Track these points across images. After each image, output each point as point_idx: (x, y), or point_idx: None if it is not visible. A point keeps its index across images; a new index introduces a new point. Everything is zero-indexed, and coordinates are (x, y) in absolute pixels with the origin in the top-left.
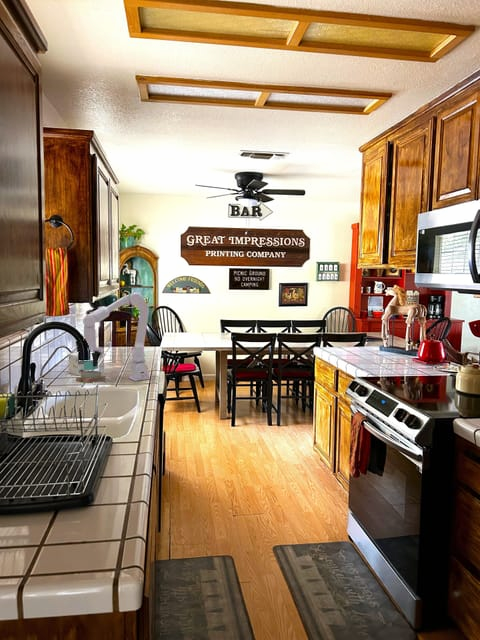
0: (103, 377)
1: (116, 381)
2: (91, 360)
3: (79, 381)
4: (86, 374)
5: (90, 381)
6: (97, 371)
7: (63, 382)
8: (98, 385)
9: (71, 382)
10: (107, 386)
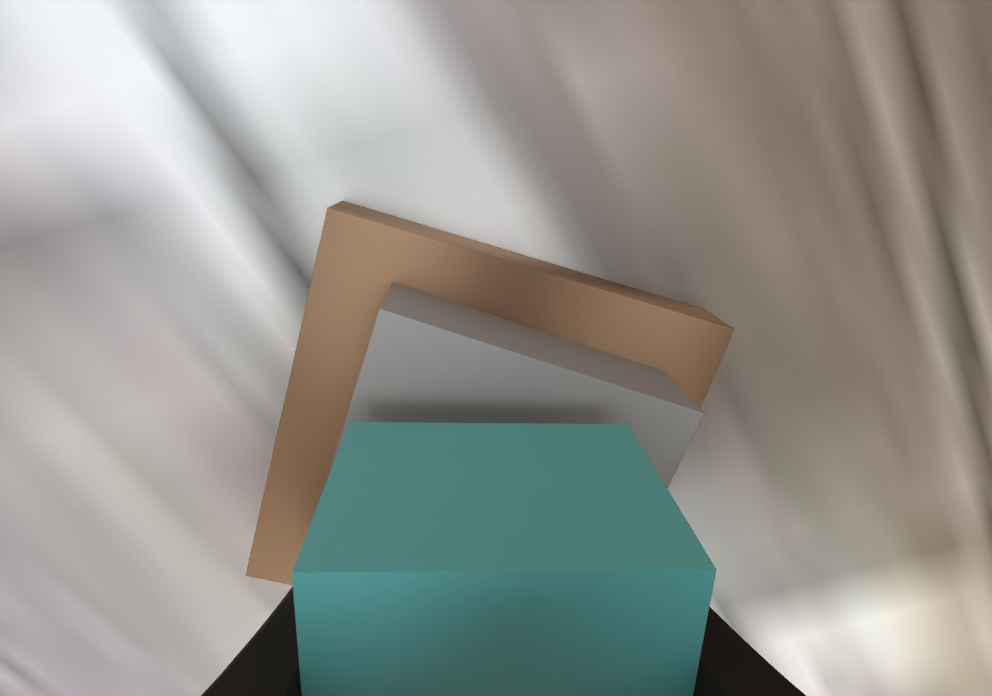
0: (708, 372)
1: (938, 363)
2: (444, 622)
3: None
4: None
5: None
6: (604, 419)
7: (137, 646)
8: (759, 653)
9: (257, 614)
10: (903, 664)
